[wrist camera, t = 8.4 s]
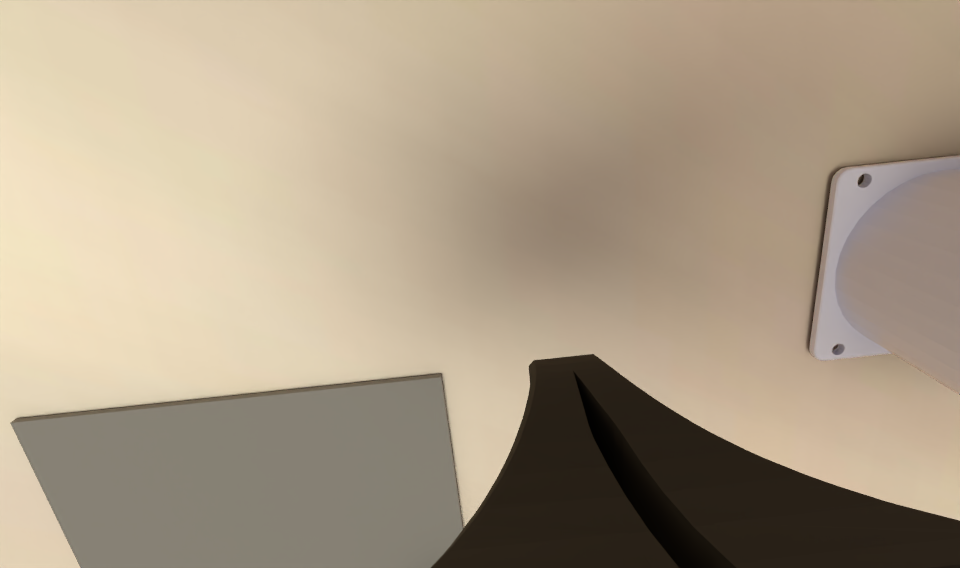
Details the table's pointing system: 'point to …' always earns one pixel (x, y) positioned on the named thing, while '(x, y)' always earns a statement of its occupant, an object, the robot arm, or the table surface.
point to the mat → (255, 479)
